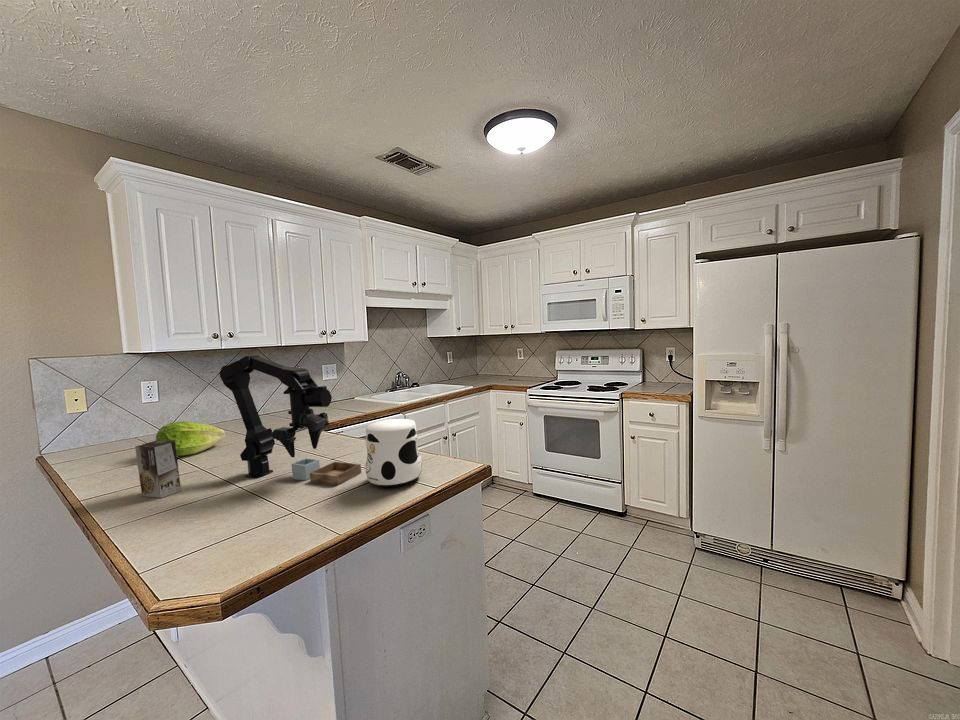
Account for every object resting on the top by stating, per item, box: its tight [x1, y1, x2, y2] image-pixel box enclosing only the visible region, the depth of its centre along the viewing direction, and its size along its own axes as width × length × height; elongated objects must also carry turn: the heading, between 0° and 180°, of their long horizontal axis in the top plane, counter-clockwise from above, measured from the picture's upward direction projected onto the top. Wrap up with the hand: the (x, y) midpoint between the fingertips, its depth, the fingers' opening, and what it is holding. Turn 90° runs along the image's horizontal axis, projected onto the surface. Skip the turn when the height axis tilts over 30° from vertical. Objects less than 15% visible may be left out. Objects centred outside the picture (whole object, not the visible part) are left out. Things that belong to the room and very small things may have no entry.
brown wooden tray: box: [309, 461, 362, 487], centre depth 131 cm, size 11×11×3 cm
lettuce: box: [155, 421, 226, 458], centre depth 171 cm, size 17×24×14 cm
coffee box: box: [134, 440, 182, 499], centre depth 125 cm, size 9×6×16 cm
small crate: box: [291, 457, 321, 481], centre depth 134 cm, size 6×6×5 cm
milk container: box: [364, 418, 423, 488], centre depth 125 cm, size 17×17×18 cm
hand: (304, 452), depth 133 cm, fingers open, 9 cm apart
